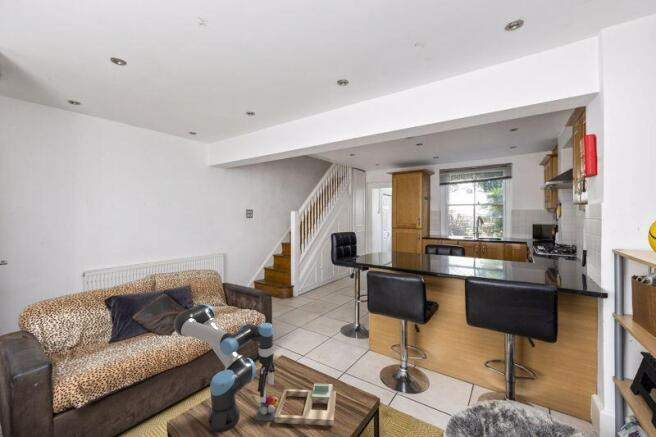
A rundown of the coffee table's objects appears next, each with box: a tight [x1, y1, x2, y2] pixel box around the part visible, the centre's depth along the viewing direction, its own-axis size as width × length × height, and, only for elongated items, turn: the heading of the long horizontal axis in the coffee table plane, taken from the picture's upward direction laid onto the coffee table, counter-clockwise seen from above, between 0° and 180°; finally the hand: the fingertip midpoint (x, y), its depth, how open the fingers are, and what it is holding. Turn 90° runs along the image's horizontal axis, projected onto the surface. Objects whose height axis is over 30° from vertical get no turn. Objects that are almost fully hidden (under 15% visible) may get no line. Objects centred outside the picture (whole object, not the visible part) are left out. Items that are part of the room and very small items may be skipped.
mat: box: [254, 403, 279, 422], centre depth 146 cm, size 11×11×1 cm
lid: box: [312, 383, 332, 398], centre depth 156 cm, size 10×11×4 cm
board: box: [273, 383, 337, 427], centre depth 151 cm, size 30×27×3 cm
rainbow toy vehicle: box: [259, 394, 279, 415], centre depth 146 cm, size 8×10×7 cm
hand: (267, 392), depth 146 cm, fingers open, 13 cm apart
